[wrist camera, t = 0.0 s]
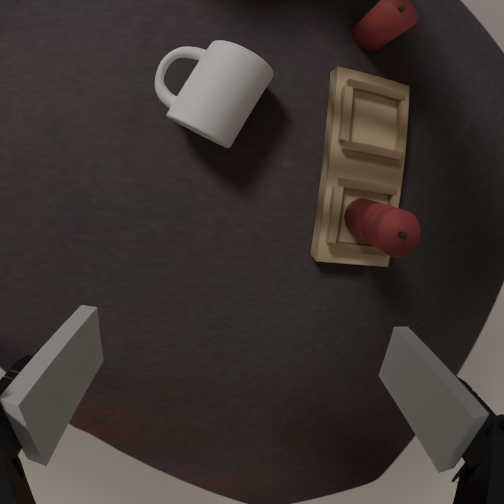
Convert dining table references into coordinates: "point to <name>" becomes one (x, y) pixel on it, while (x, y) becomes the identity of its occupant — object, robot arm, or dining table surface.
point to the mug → (215, 89)
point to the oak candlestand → (363, 173)
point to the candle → (384, 24)
